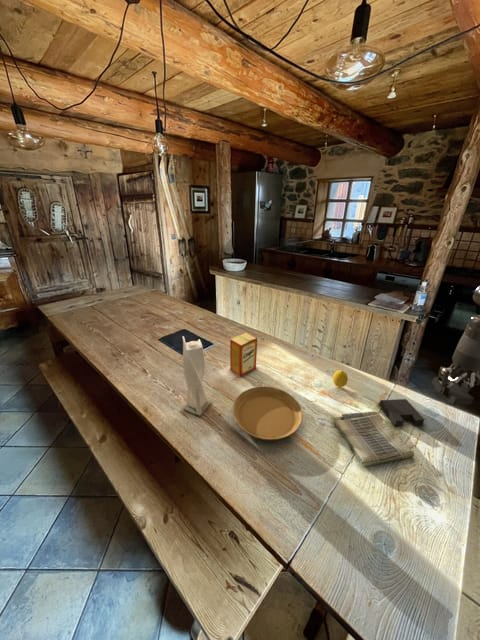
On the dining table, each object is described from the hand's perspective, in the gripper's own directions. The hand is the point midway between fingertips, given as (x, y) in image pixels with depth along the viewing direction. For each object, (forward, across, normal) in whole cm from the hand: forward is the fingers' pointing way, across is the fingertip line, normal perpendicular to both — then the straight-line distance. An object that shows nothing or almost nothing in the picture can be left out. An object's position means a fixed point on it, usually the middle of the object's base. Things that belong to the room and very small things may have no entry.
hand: (452, 394), depth 85 cm
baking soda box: (+13, -65, +35) cm, 75 cm away
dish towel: (+13, -27, -4) cm, 30 cm away
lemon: (+14, -27, +21) cm, 37 cm away
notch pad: (+13, -11, +5) cm, 18 cm away
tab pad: (+1, 0, +1) cm, 1 cm away
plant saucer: (+13, -59, +7) cm, 61 cm away
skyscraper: (+13, -84, +14) cm, 86 cm away
